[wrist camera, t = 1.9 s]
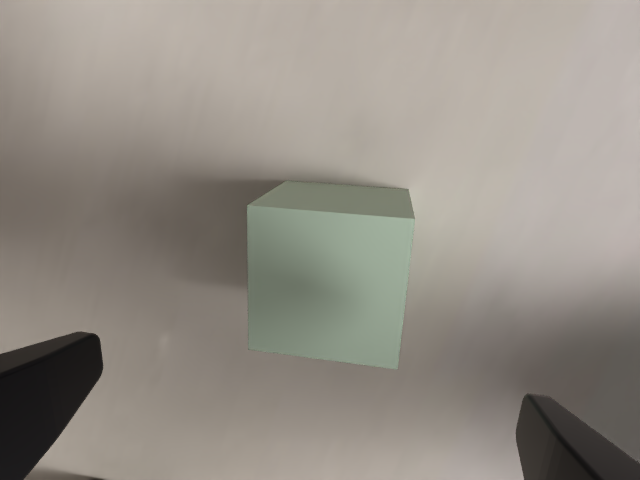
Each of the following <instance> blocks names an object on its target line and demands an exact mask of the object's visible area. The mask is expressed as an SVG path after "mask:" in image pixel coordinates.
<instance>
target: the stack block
mask: <svg viewBox="0 0 640 480" xmlns="http://www.w3.org/2000/svg"><path fill="white" fill-rule="evenodd" d="M414 224H415V217H414V212H413V208H412V203H411V199H410V194H409V190H408V189H396V188H382V187H368V186H354V185H340V184H326V183H312V182H298V181H285V182H283V183H282V184H280V185H279V186H277V187H275V188H274V189H272V190H271V191H269V192H267V193H266V194H264V195H263V196H261V197H260V198H258V199H256V200H255V201H253V202H252V203H250V204H248V205H247V263H248V350H254V351H262V352H269V353H277V354H284V355H292V356H299V357H307V358H314V359H322V360H329V361H337V362H344V363H352V364H359V365H367V366H374V367H382V368H389V369H397V370H398V362H399V353H400V344H401V336H402V327H403V319H404V310H405V301H406V293H407V284H408V275H409V267H410V258H411V250H412V241H413V232H414Z"/></svg>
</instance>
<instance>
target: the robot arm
mask: <svg viewBox="0 0 640 480" xmlns="http://www.w3.org/2000/svg"><path fill="white" fill-rule="evenodd" d="M102 371H103V360H102V352H101V344H100V339H99V337H98V336H97V335H96V334H94V333H87V332H75V333H72V334H68V335H65V336H61V337H58V338H54V339H51V340H48V341H44V342H41V343H37V344H34V345H30V346H27V347H23V348H20V349H16V350H13V351H10V352H6V353H3V354H0V480H24V479H25V477H26V476H27V475H28V474H29V472H30V471H31V470H32V469H33V468H34V466H35V465H36V464H37V463H38V462H39V460H40V459H41V458H42V457H43V456H44V454H45V453H46V452H47V451H48V450H49V448H50V447H51V446H52V445H53V443H54V442H55V441H56V440H57V438H58V437H59V436H60V434H61V433H62V431H63V430H64V429H65V427H66V426H67V424H68V423H69V422H70V420H71V419H72V417H73V416H74V414H75V413H76V411H77V410H78V409H79V407H80V406H81V404H82V403H83V401H84V400H85V398H86V397H87V396H88V394H89V393H90V391H91V390H92V388H93V387H94V385H95V384H96V383H97V381H98V380H99V378H100V376H101V374H102ZM516 442H517V447H518V451H519V456H520V461H521V466H522V471H523V476H524V480H640V464H639V463H638V462H637V461H635V460H634V459H633V458H631V457H630V456H629V455H627V454H626V453H625V452H623V451H622V450H621V449H619V448H618V447H617V446H615V445H614V444H613V443H611V442H610V441H608V440H607V439H606V438H604V437H603V436H602V435H600V434H599V433H598V432H596V431H595V430H594V429H592V428H591V427H590V426H588V425H587V424H586V423H584V422H583V421H582V420H580V419H579V418H578V417H576V416H575V415H574V414H572V413H571V412H570V411H568V410H567V409H565V408H564V407H563V406H561V405H560V404H559V403H557V402H556V401H555V400H553V399H552V398H551V397H548V396H544V395H536V394H527V395H525V397H524V398H523V401H522V405H521V410H520V414H519V419H518V423H517V428H516Z"/></svg>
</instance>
